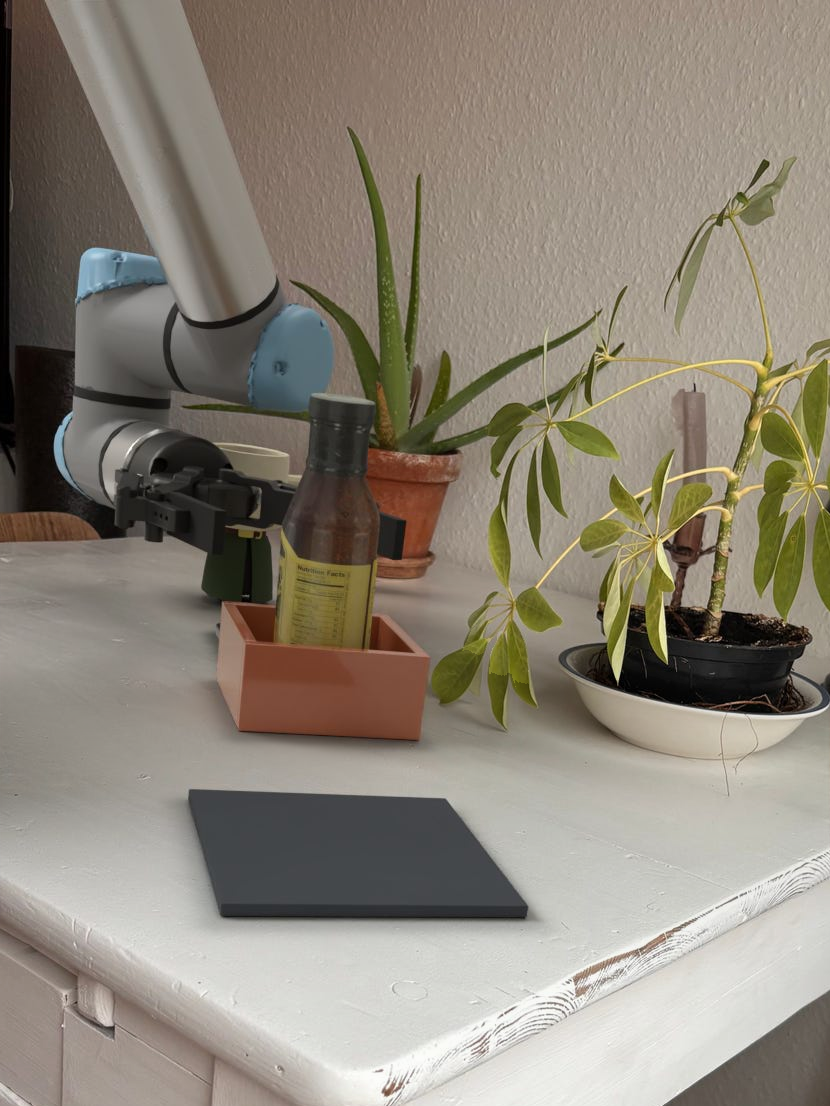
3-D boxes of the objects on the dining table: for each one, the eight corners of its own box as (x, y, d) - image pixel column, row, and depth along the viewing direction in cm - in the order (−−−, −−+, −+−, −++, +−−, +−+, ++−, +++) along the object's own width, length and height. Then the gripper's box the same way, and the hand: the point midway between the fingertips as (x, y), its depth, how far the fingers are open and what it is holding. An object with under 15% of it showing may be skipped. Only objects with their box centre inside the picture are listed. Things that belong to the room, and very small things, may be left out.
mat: (220, 916, 55) (221, 903, 54) (187, 799, 67) (188, 788, 67) (526, 917, 59) (528, 905, 59) (444, 808, 72) (445, 797, 71)
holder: (238, 731, 79) (245, 643, 77) (216, 679, 89) (221, 600, 87) (419, 740, 83) (430, 657, 81) (378, 689, 93) (387, 614, 91)
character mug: (184, 607, 108) (194, 447, 103) (165, 588, 114) (174, 436, 109) (307, 614, 113) (323, 461, 108) (283, 595, 119) (297, 450, 114)
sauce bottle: (301, 689, 90) (331, 390, 83) (378, 711, 88) (416, 406, 80) (246, 705, 84) (273, 386, 77) (327, 729, 82) (362, 403, 75)
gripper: (307, 536, 107) (457, 595, 93) (6, 523, 92) (129, 592, 77) (316, 443, 105) (472, 488, 90) (8, 414, 89) (135, 464, 75)
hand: (314, 537), depth 84 cm, fingers open, 13 cm apart
